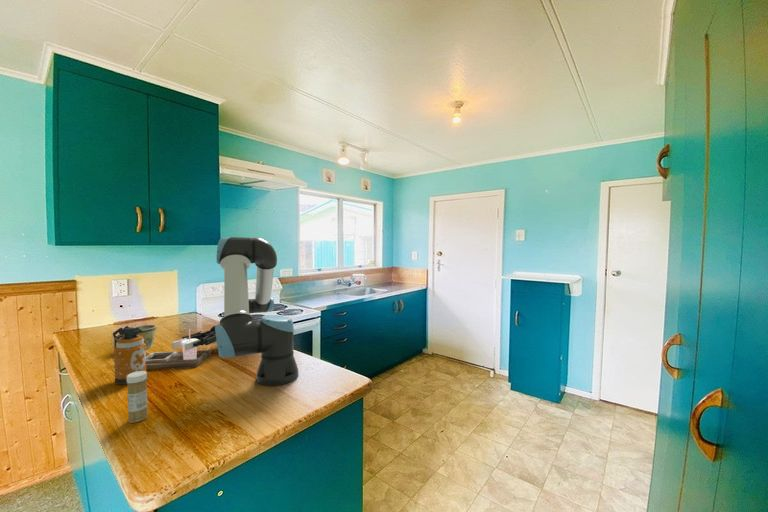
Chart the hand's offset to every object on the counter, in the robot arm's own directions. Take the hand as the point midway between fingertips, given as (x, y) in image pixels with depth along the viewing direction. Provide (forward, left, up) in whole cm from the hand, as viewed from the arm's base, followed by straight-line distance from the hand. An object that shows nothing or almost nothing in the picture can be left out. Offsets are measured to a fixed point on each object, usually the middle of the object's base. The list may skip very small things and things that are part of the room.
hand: (179, 346), depth 127 cm
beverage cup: (+5, -2, -8) cm, 10 cm away
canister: (-12, +12, -8) cm, 19 cm away
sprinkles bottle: (-41, -7, -8) cm, 42 cm away
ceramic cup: (+28, +28, -8) cm, 40 cm away
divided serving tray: (+5, +4, -8) cm, 10 cm away
